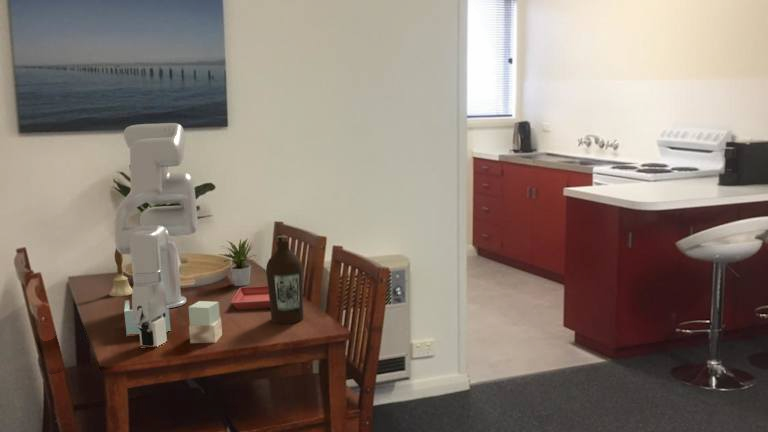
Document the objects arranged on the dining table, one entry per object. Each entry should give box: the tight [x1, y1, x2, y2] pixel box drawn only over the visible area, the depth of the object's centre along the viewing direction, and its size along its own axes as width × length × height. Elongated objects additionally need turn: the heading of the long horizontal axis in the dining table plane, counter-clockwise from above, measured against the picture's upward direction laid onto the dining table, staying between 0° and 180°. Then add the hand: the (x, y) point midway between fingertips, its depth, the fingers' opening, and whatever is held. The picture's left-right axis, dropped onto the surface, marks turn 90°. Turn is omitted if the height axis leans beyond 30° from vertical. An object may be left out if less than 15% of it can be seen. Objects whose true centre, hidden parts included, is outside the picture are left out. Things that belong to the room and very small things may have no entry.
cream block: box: [139, 317, 168, 347], centre depth 218 cm, size 5×5×7 cm
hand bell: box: [108, 247, 133, 297], centre depth 273 cm, size 8×8×16 cm
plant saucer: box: [230, 285, 270, 310], centre depth 257 cm, size 18×18×3 cm
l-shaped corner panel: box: [123, 299, 171, 336], centre depth 233 cm, size 12×12×8 cm
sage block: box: [187, 300, 221, 326], centre depth 221 cm, size 6×6×5 cm
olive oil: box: [265, 235, 304, 325], centre depth 235 cm, size 11×11×25 cm
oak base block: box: [188, 317, 223, 344], centre depth 222 cm, size 7×7×5 cm
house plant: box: [217, 237, 256, 287], centre depth 280 cm, size 14×14×16 cm
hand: (153, 341), depth 218 cm, fingers closed on cream block, 5 cm apart
